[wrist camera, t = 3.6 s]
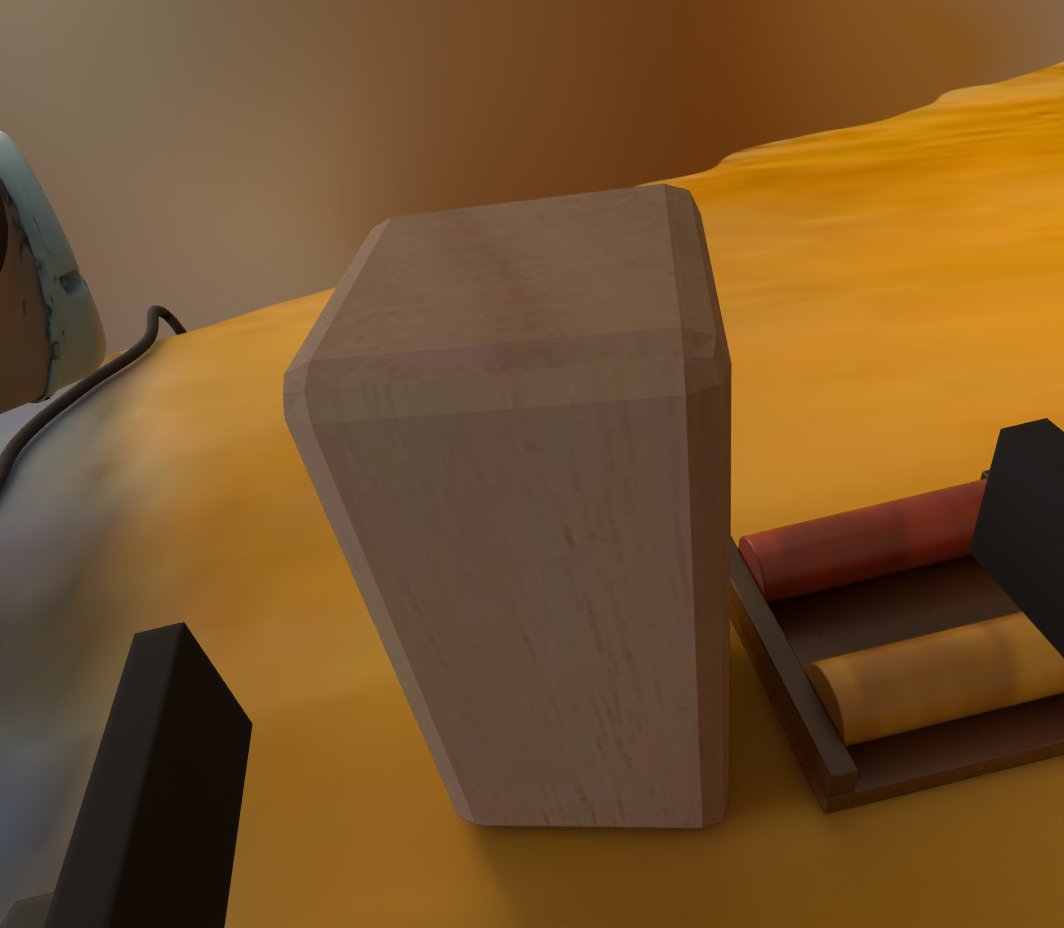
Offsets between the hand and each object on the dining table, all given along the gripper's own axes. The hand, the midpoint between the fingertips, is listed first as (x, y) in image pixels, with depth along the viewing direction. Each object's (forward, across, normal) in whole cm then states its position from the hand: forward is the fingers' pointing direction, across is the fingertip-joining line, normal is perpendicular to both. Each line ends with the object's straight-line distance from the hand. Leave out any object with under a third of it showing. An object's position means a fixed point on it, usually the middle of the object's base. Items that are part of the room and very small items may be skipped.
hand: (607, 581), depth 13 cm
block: (+10, 0, -19) cm, 21 cm away
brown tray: (+10, +14, -18) cm, 25 cm away
